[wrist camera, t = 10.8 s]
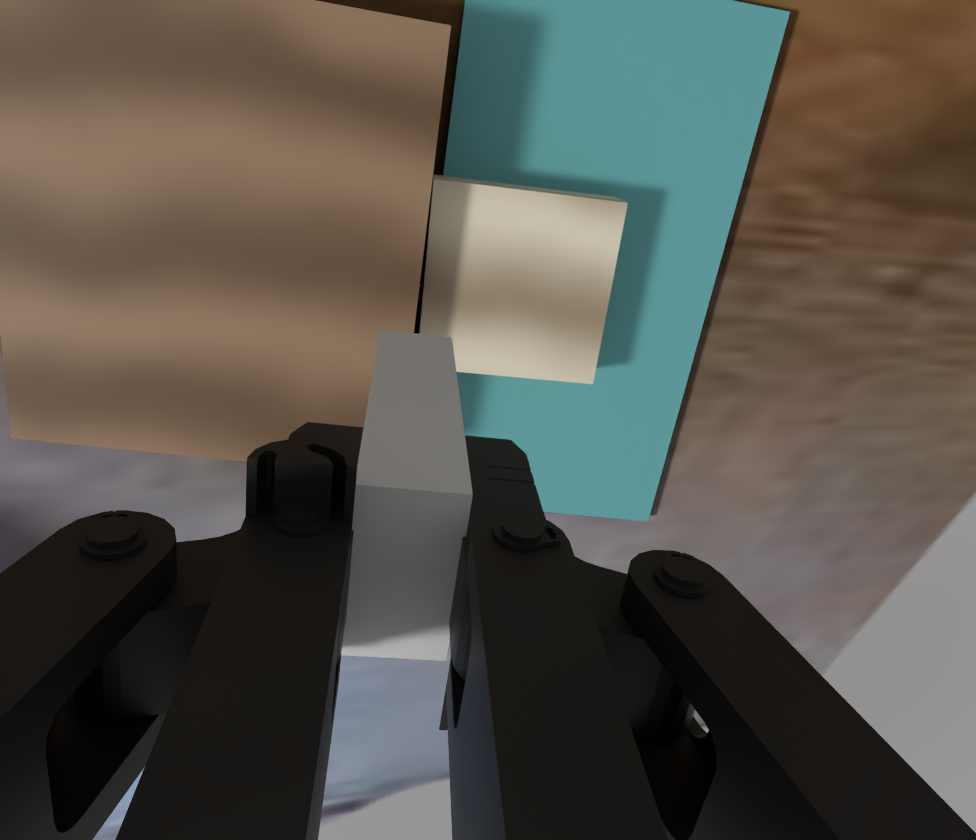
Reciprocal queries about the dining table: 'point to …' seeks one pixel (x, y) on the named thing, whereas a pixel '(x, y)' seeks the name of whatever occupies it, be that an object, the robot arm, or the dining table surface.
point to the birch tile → (520, 277)
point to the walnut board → (207, 214)
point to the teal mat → (630, 177)
